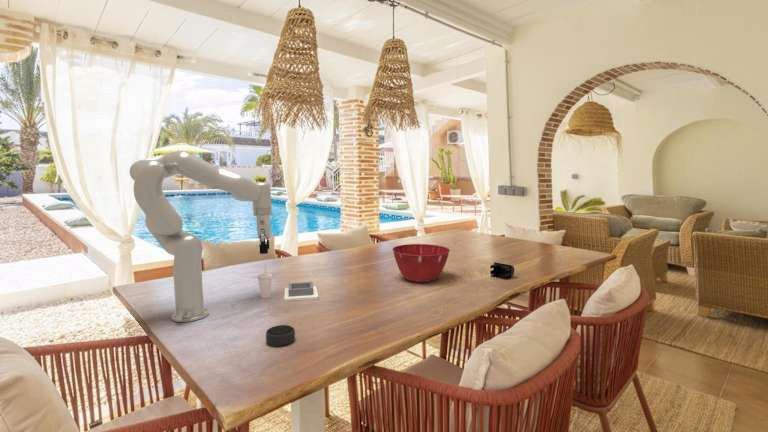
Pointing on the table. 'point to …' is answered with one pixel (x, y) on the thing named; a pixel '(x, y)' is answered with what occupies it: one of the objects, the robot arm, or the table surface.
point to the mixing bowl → (420, 261)
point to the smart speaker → (280, 335)
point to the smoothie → (265, 284)
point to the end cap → (502, 271)
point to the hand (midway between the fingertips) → (264, 251)
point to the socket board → (300, 291)
